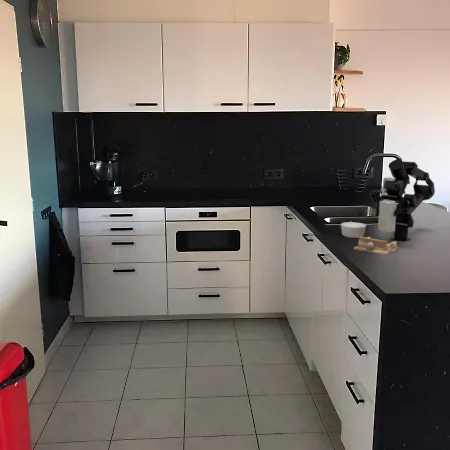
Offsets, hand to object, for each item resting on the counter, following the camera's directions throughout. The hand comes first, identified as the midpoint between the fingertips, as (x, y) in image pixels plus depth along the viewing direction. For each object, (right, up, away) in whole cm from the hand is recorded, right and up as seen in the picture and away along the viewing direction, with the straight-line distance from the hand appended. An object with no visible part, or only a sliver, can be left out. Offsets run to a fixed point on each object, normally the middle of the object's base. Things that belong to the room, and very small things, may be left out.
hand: (385, 214), depth 208 cm
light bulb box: (+53, +19, +157) cm, 166 cm away
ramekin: (-8, -9, +22) cm, 25 cm away
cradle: (-4, -14, -2) cm, 15 cm away
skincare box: (+1, -7, +3) cm, 7 cm away
